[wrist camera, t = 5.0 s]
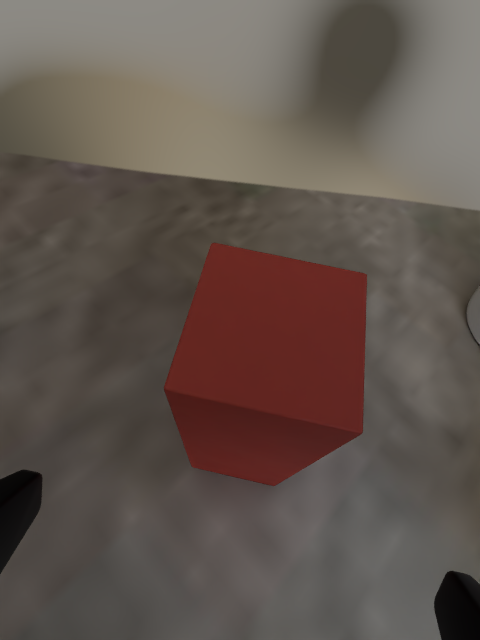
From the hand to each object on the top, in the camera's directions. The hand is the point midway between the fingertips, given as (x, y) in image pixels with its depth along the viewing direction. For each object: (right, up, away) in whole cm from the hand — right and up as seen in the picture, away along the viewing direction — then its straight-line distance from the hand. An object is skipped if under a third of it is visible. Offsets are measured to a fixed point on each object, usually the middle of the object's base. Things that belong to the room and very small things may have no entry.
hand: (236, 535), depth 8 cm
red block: (0, -2, +12) cm, 12 cm away
